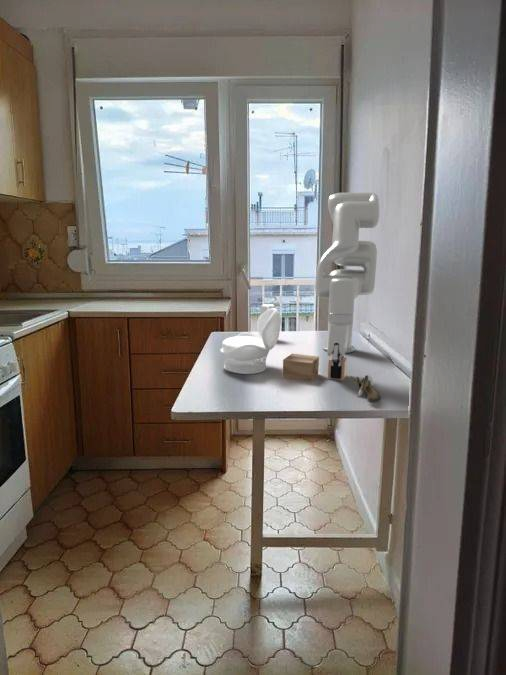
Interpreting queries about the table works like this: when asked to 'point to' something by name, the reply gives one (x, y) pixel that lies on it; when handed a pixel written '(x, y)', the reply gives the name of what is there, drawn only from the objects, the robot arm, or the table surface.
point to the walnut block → (300, 367)
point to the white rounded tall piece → (266, 307)
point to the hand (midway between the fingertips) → (337, 375)
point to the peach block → (343, 371)
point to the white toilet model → (252, 345)
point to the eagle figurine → (367, 388)
